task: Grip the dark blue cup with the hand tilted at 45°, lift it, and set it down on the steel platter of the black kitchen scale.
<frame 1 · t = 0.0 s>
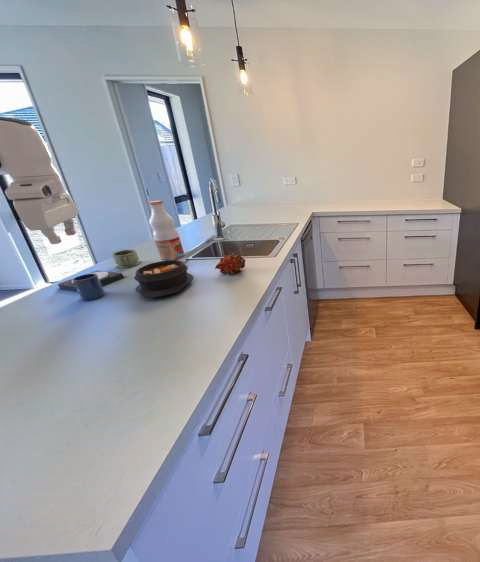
hand: (64, 238, 83), 26 cm above the worktop, tool pointing down, fingers open, 8 cm apart
scale: (93, 283, 119), on the worktop
fruit juice: (175, 263, 138), on the worktop
casserole: (167, 287, 114), on the worktop
vessel: (129, 265, 137), on the worktop
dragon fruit: (232, 273, 126), on the worktop
dark blue cup: (94, 297, 107), on the worktop
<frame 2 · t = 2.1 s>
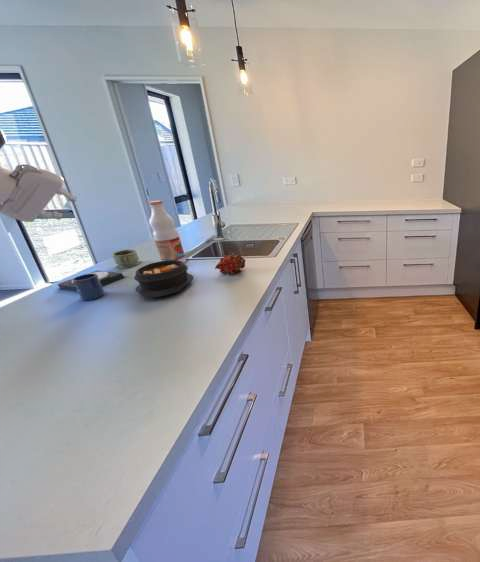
hand: (68, 208, 96), 31 cm above the worktop, tool tilted 50°, fingers open, 8 cm apart
nothing on the worktop moved.
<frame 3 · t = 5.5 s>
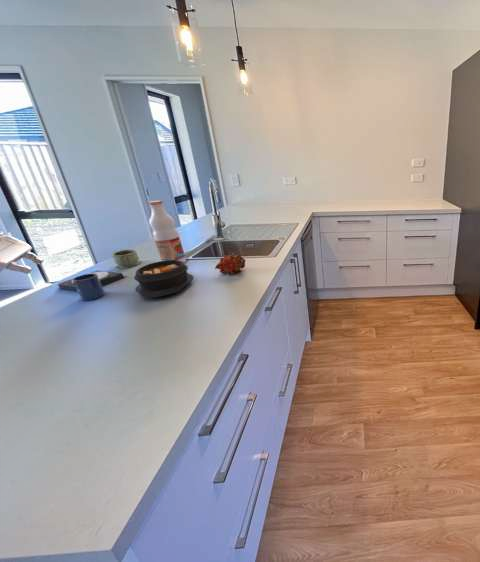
hand: (36, 266, 98), 14 cm above the worktop, tool tilted 45°, fingers open, 8 cm apart
nothing on the worktop moved.
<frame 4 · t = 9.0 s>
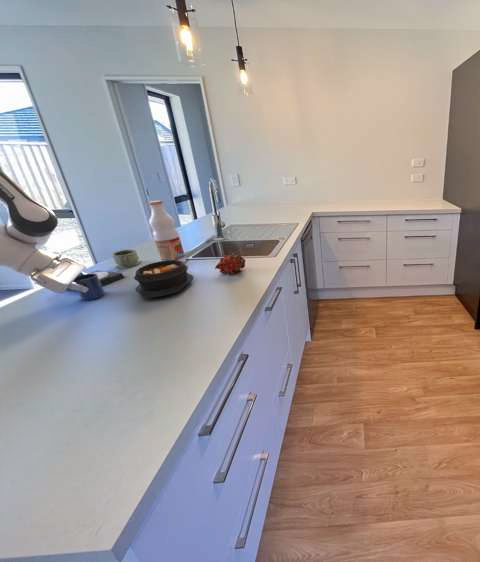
hand: (91, 285, 106), 4 cm above the worktop, tool tilted 45°, fingers closed on dark blue cup, 6 cm apart
dark blue cup: (94, 297, 107), on the worktop, touching gripper
everything else where it was.
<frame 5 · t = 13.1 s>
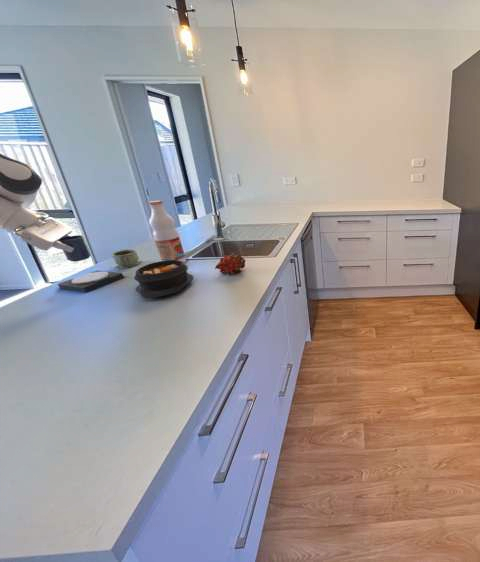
hand: (77, 247, 108), 16 cm above the worktop, tool tilted 45°, fingers closed on dark blue cup, 6 cm apart
dark blue cup: (80, 259, 109), point 12 cm above the worktop, touching gripper
everything else where it was.
when the fingers open (7 cm above the worktop, at t = 17.1 s): dark blue cup stays where it is, resting on scale.
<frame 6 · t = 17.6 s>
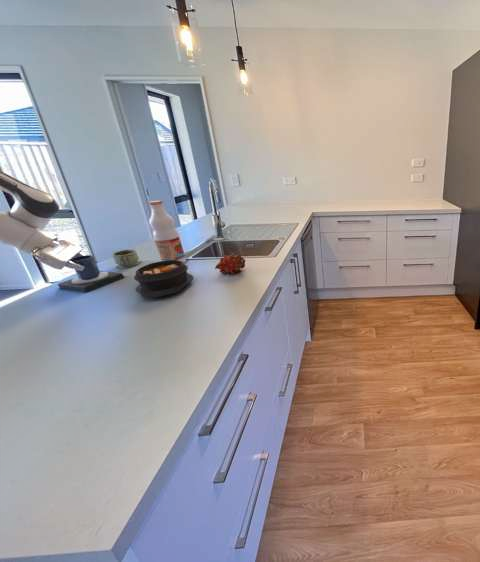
hand: (87, 265, 116), 8 cm above the worktop, tool tilted 45°, fingers open, 8 cm apart
dark blue cup: (90, 276, 118), point 3 cm above the worktop, touching scale
everything else where it was.
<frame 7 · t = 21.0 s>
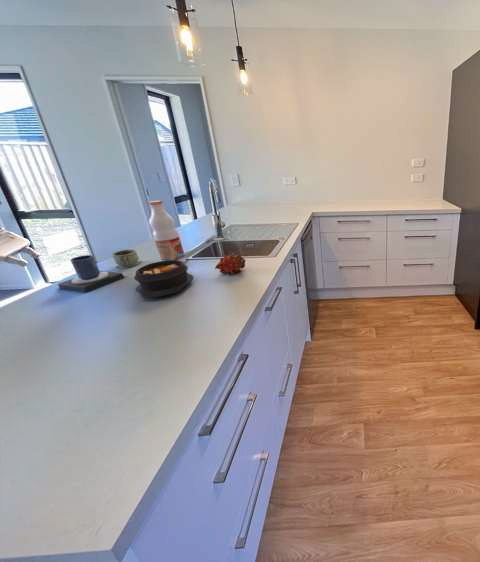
hand: (33, 260, 107), 13 cm above the worktop, tool tilted 45°, fingers open, 8 cm apart
nothing on the worktop moved.
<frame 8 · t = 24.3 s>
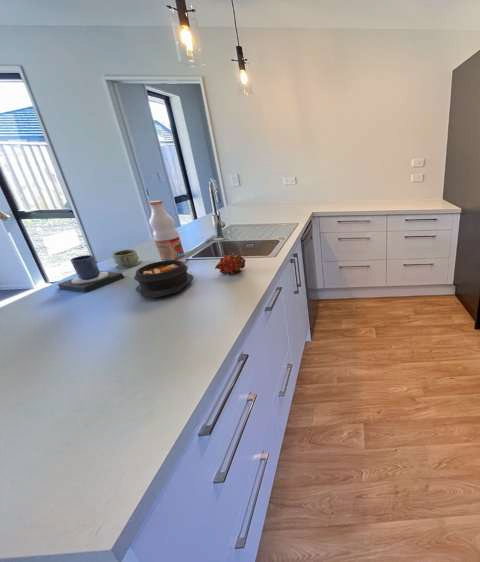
hand: (1, 221, 99), 27 cm above the worktop, tool tilted 45°, fingers open, 8 cm apart
nothing on the worktop moved.
at the end: dark blue cup inside the target area on the scale (0.0 cm from its centre), point 2.8 cm above the scale's base; dark blue cup tilted 0°; the gripper is holding nothing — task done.
